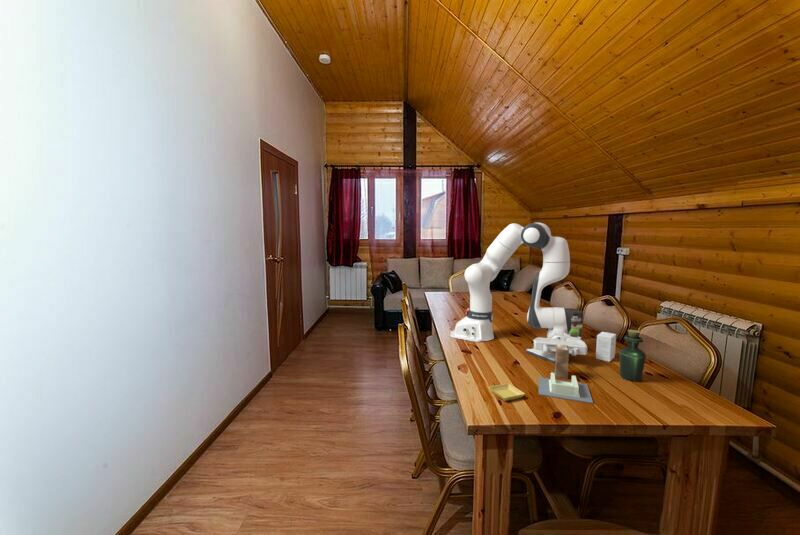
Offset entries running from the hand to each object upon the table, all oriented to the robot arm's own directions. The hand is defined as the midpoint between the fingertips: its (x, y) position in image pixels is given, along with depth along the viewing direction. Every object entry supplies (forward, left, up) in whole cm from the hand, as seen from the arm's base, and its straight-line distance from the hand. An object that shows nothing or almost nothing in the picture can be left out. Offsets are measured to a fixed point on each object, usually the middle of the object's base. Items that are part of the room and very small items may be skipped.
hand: (560, 352), depth 134 cm
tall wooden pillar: (0, -8, -7) cm, 10 cm away
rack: (0, -21, -6) cm, 22 cm away
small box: (+19, +19, -7) cm, 28 cm away
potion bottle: (+24, -1, -7) cm, 25 cm away
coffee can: (+8, +47, -7) cm, 48 cm away
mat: (0, -21, -7) cm, 22 cm away
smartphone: (-5, +12, -7) cm, 15 cm away
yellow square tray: (-18, -32, -7) cm, 37 cm away
